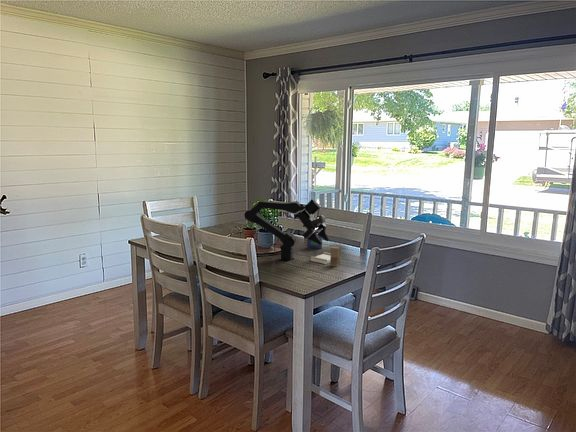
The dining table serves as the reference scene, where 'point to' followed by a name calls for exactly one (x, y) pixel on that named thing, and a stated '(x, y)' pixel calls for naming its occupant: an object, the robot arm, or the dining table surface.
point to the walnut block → (335, 256)
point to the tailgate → (322, 258)
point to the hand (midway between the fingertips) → (325, 242)
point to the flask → (314, 244)
